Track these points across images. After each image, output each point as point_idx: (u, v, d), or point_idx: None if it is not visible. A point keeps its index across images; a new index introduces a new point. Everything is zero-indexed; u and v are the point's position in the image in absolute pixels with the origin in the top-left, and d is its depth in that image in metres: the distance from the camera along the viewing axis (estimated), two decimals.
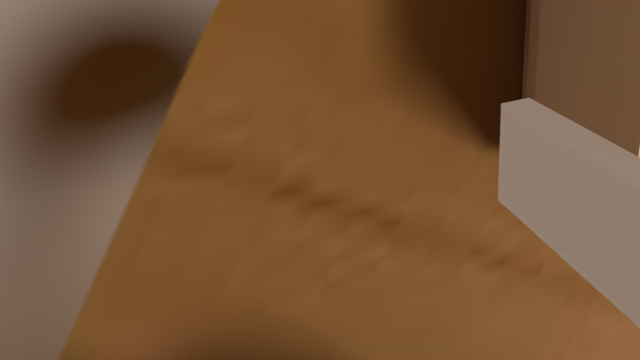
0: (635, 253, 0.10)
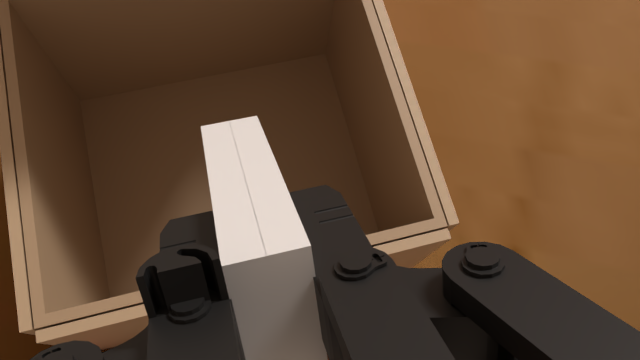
0: None
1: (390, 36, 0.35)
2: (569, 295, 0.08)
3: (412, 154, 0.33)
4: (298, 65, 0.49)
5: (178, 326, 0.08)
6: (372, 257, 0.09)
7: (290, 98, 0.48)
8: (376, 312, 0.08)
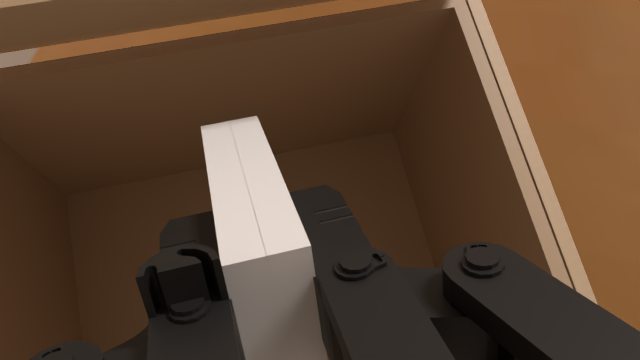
0: None
1: (532, 151, 0.23)
2: (569, 295, 0.08)
3: None
4: (357, 146, 0.37)
5: (178, 326, 0.08)
6: (372, 257, 0.09)
7: (347, 193, 0.36)
8: (376, 312, 0.08)
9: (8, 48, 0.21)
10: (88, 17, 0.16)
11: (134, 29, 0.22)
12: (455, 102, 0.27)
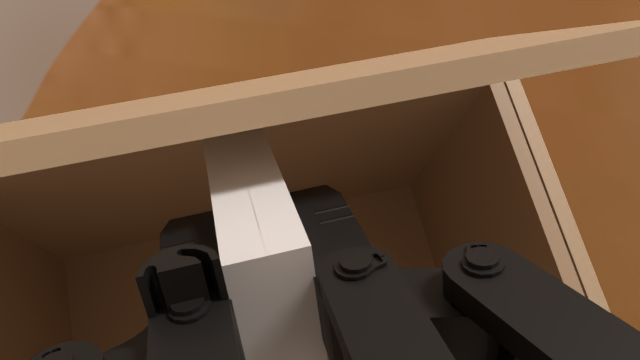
0: None
1: (577, 246, 0.21)
2: (569, 295, 0.08)
3: None
4: (373, 203, 0.35)
5: (178, 326, 0.08)
6: (372, 257, 0.09)
7: None
8: (376, 312, 0.08)
9: None
10: None
11: None
12: (486, 178, 0.25)
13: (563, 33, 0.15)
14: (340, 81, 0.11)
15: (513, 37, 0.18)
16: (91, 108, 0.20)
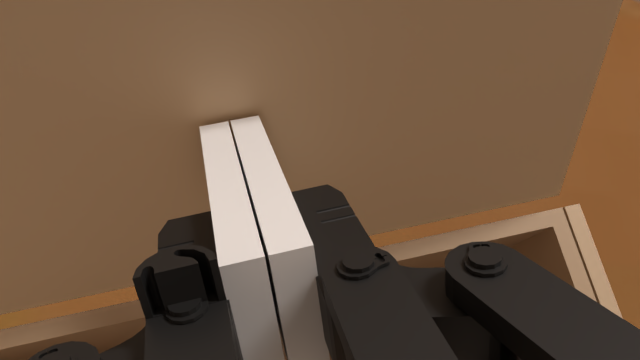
0: None
1: None
2: (571, 294, 0.08)
3: None
4: None
5: (175, 327, 0.08)
6: (375, 257, 0.09)
7: None
8: (379, 311, 0.08)
9: (10, 278, 0.17)
10: (90, 96, 0.14)
11: None
12: None
13: None
14: None
15: None
16: None
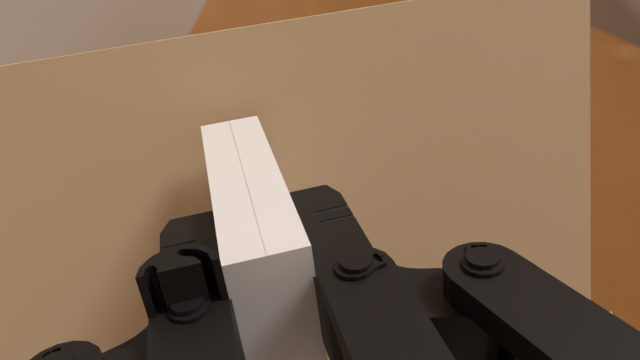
0: None
1: None
2: (569, 295, 0.08)
3: None
4: None
5: (178, 326, 0.08)
6: (372, 257, 0.09)
7: None
8: (376, 312, 0.08)
9: None
10: (119, 200, 0.16)
11: None
12: None
13: None
14: (288, 20, 0.16)
15: None
16: None
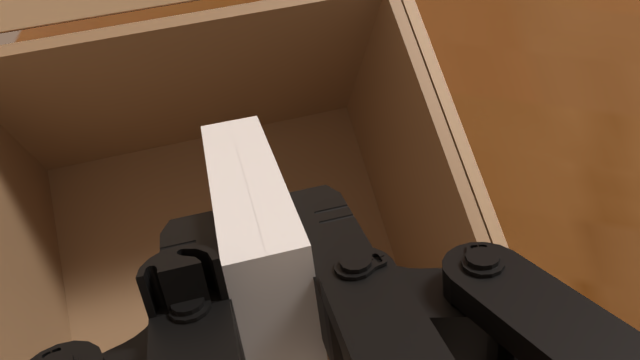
0: None
1: (451, 111, 0.27)
2: (569, 295, 0.08)
3: None
4: (314, 122, 0.41)
5: (178, 326, 0.08)
6: (372, 257, 0.09)
7: (306, 163, 0.40)
8: (376, 312, 0.08)
9: None
10: None
11: None
12: (391, 74, 0.31)
13: None
14: None
15: None
16: None
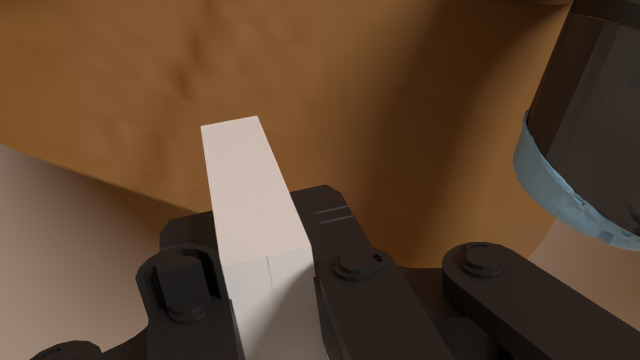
0: None
1: None
2: (569, 295, 0.08)
3: None
4: None
5: (178, 326, 0.08)
6: (372, 257, 0.09)
7: None
8: (376, 312, 0.08)
9: None
10: None
11: None
12: None
13: None
14: None
15: None
16: None
